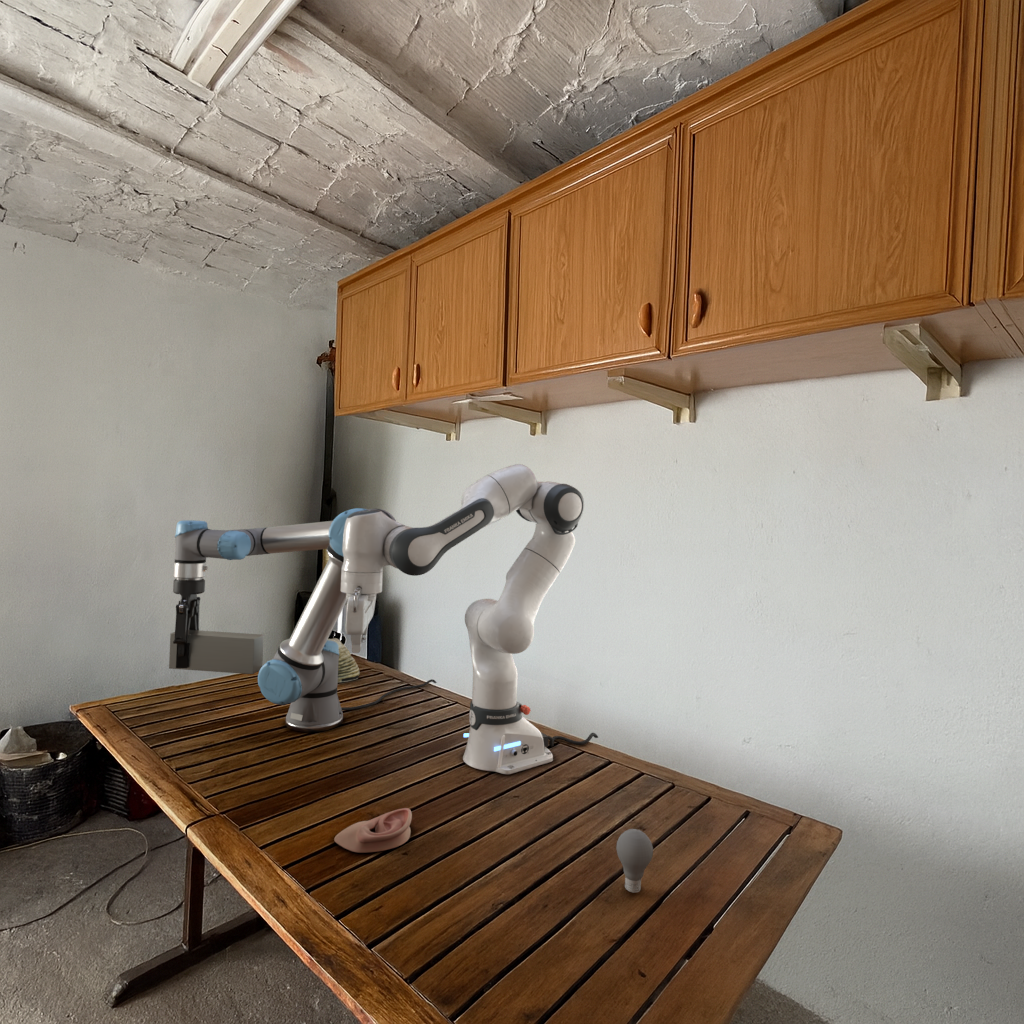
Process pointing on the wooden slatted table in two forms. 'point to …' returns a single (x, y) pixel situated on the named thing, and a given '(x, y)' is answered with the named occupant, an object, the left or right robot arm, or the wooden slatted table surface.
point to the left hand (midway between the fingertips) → (185, 664)
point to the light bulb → (634, 857)
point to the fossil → (346, 664)
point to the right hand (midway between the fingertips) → (359, 646)
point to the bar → (221, 652)
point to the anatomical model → (377, 832)
